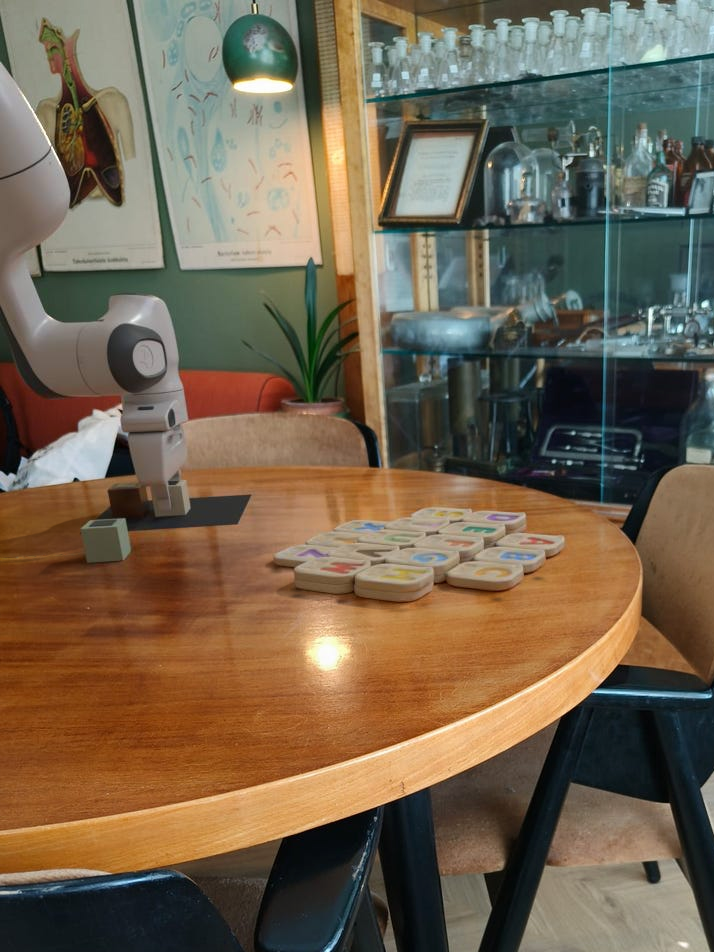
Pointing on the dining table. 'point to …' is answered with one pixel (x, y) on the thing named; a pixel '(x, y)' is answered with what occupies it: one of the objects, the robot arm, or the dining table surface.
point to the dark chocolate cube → (128, 500)
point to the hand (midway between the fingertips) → (170, 503)
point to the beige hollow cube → (174, 499)
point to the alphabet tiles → (420, 554)
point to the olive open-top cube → (105, 540)
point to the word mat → (191, 514)
